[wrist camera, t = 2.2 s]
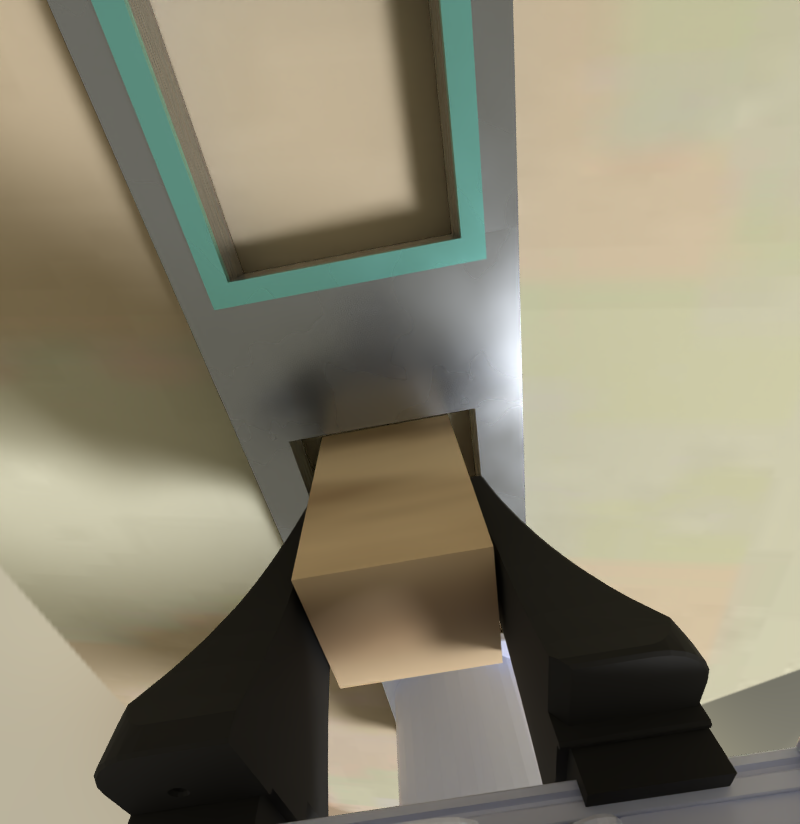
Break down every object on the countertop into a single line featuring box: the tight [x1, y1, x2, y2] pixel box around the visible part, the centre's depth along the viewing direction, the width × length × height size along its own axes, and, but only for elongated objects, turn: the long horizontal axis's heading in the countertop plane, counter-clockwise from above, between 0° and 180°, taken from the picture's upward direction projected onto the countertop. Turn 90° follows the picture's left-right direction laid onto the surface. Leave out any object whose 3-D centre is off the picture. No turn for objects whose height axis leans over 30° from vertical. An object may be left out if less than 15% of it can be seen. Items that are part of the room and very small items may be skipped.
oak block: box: [291, 414, 503, 689], centre depth 12 cm, size 4×4×6 cm
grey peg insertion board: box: [47, 0, 526, 542], centre depth 12 cm, size 20×9×1 cm, turn 10°
